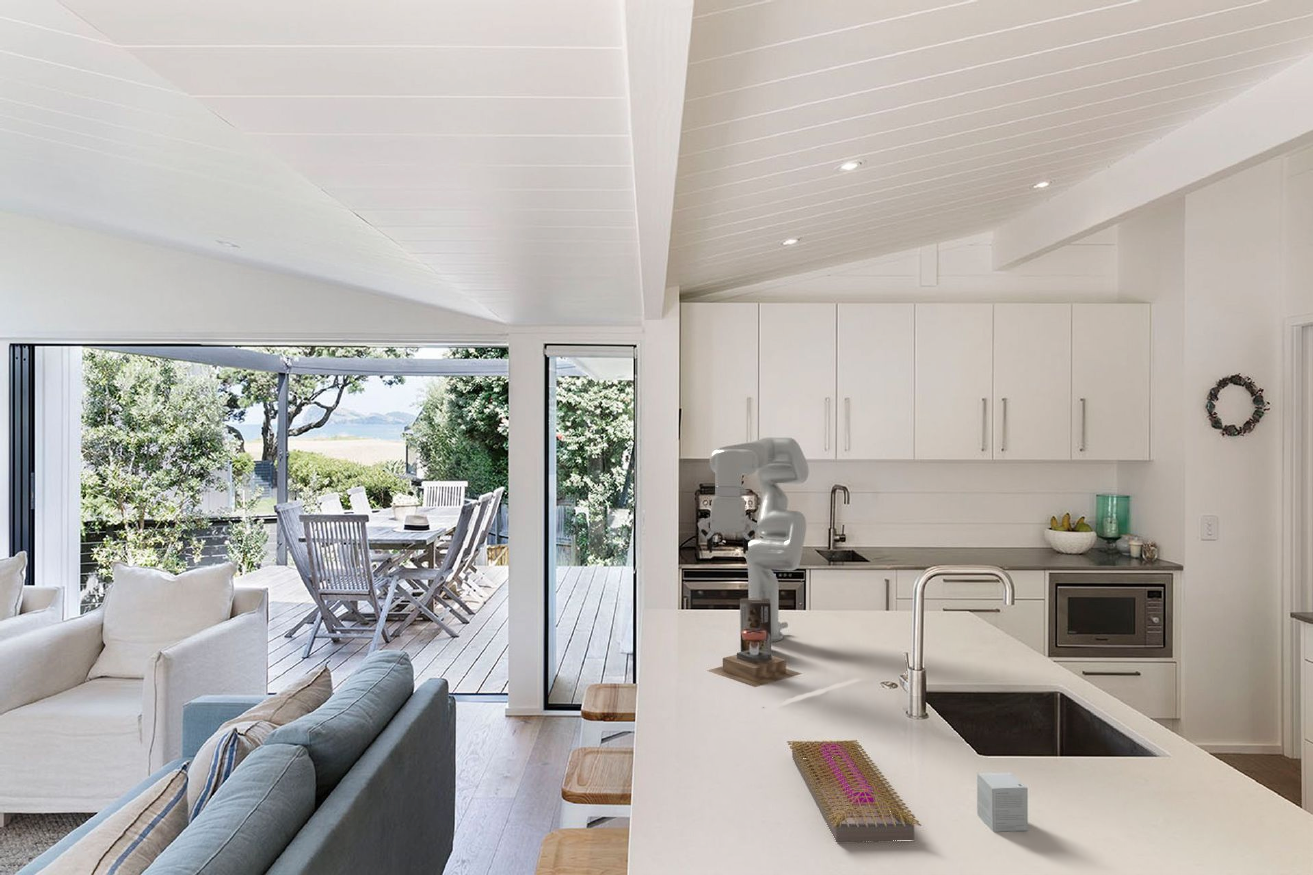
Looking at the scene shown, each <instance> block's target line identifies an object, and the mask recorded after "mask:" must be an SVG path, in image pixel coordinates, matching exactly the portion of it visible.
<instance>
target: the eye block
mask: <svg viewBox="0 0 1313 875" xmlns="http://www.w3.org/2000/svg"><path fill="white" fill-rule="evenodd" d="M707 672H710V673H713V674H716V675H719V676H721V677H725V678H728V679H731V680H733V681H737V682H739V683H742V684H745V685H748V686H750V687H754V688H756V687H760V686H764V685H766V684H767V685H768V684H771V683H774V682H777V681H780V680H785V679H787V678H792V677H794V676H795V677H796V676H798V675H802V673H801V672H799V671H795V670H792V669H788V668H787V660H786V658H780V657H778V656H774V655H773V654H772V653H771V654H770V653H767V652H763V651H760V650H759V655H757V656H752V655H750V650H747V651H743V652H741V651H739V652H737V653H736V654H734V655H729V656H726V657H722V665H721V666H719V667H714V668H711V669H707Z"/></svg>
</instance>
